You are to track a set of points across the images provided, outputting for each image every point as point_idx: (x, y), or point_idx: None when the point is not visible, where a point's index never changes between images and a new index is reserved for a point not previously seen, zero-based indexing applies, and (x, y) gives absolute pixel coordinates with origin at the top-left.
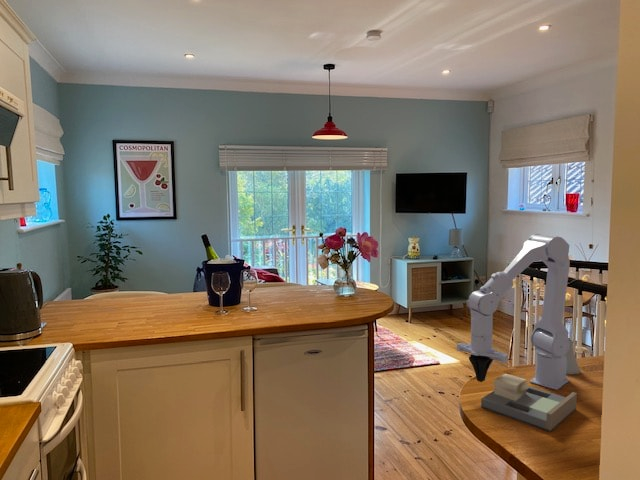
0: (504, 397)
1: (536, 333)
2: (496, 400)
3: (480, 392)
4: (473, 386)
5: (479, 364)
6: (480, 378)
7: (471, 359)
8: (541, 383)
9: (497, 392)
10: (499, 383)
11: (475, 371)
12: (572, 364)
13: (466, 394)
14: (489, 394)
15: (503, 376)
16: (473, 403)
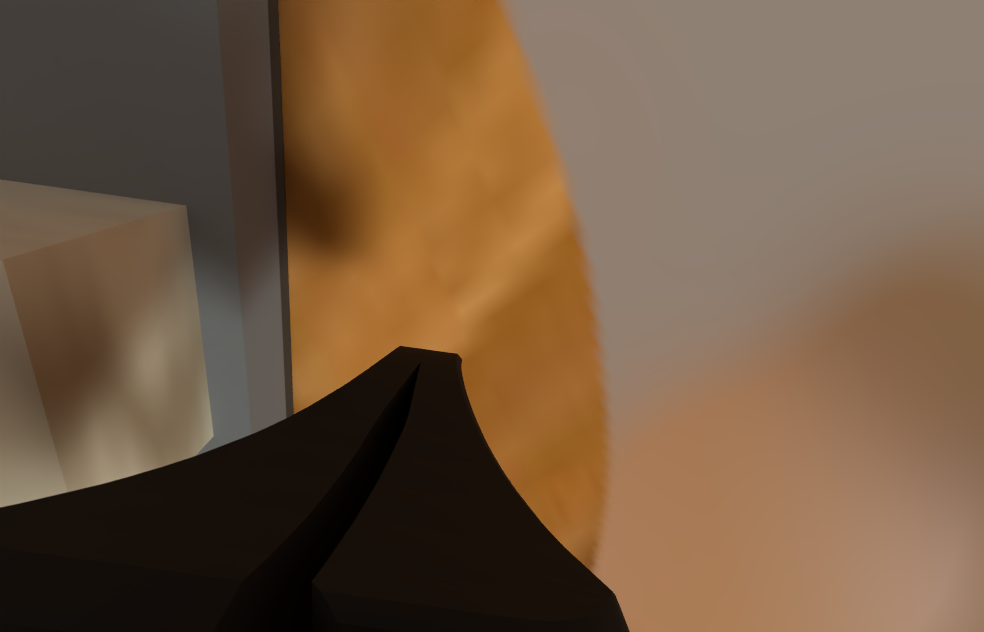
0: (40, 178)
1: None
2: (40, 16)
3: (457, 331)
4: (563, 413)
5: (252, 498)
6: (388, 359)
7: (501, 600)
8: None
9: (113, 203)
10: None
11: (457, 415)
12: None
13: (556, 208)
14: (215, 153)
15: (19, 468)
16: (398, 23)
